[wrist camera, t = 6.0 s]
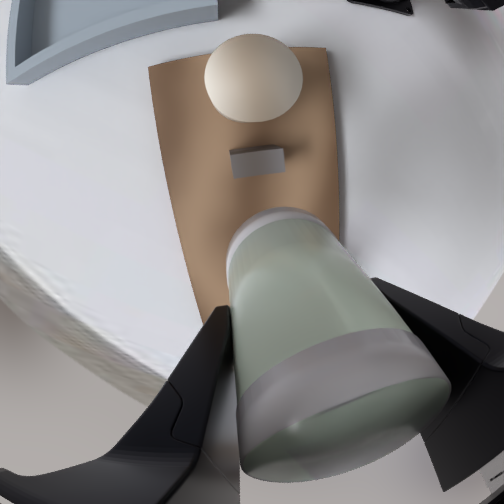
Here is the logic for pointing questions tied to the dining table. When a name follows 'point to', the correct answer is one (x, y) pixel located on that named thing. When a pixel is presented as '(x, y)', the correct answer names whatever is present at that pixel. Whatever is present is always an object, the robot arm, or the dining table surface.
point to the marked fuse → (319, 355)
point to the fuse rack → (243, 146)
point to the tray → (86, 29)
